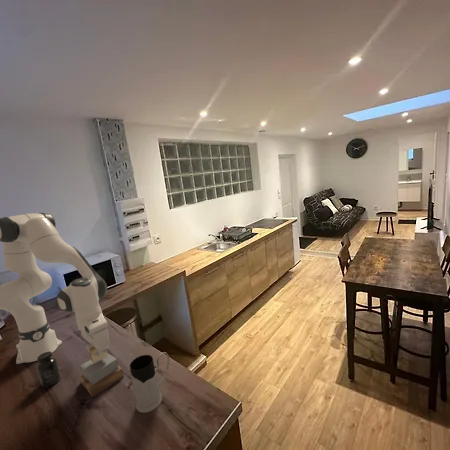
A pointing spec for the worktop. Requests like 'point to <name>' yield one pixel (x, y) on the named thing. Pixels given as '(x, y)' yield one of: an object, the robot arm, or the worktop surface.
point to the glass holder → (146, 382)
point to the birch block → (95, 354)
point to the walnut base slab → (102, 381)
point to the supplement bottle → (48, 369)
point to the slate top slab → (99, 369)
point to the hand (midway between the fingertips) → (97, 352)
